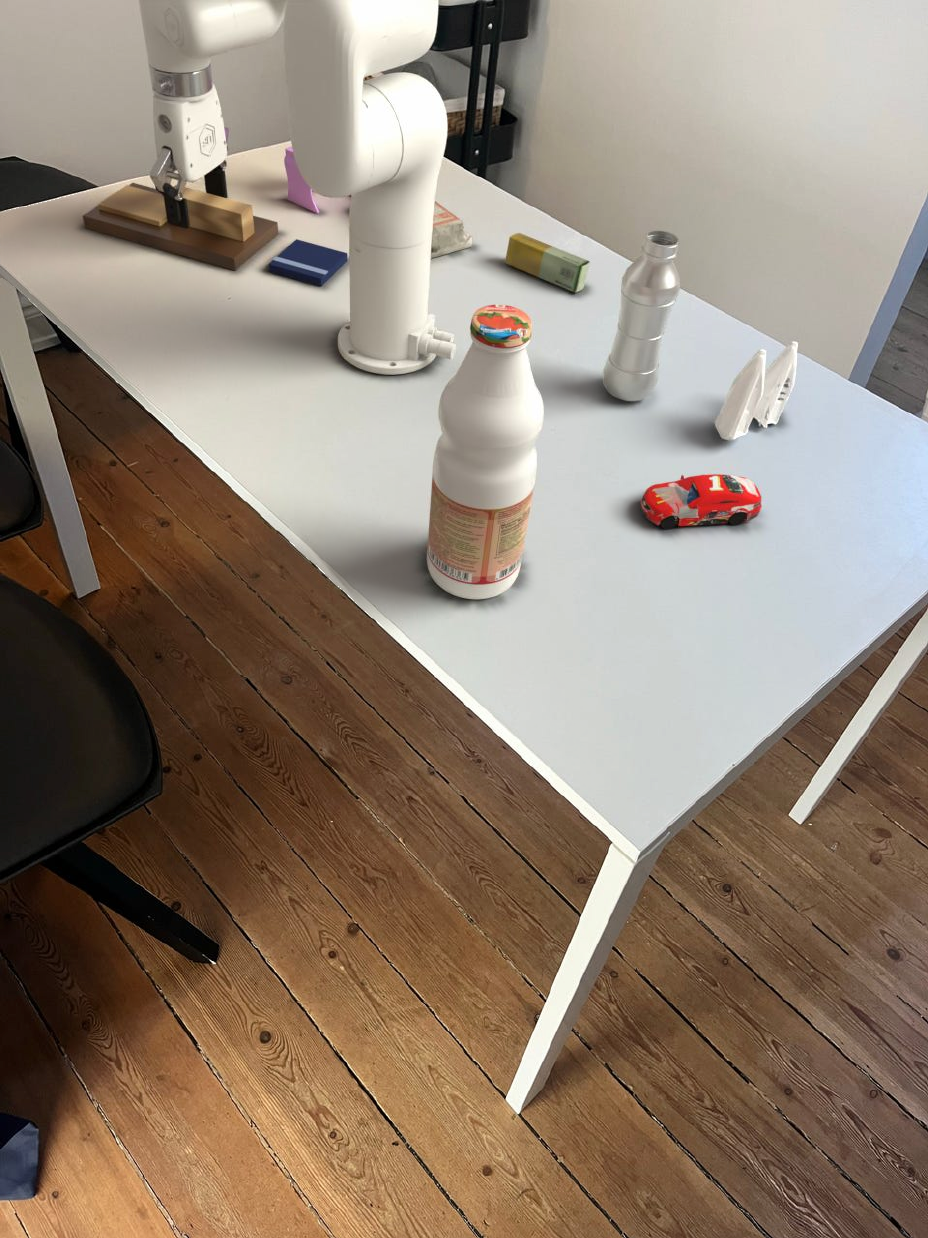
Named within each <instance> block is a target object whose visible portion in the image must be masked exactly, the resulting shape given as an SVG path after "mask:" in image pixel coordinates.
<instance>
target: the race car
mask: <svg viewBox="0 0 928 1238" xmlns="http://www.w3.org/2000/svg"><path fill="white" fill-rule="evenodd" d="M756 485H757V484H756V483H755V482H754V481H753V480H751V479H749V478H747V477H745V476H736V475H732V474H720V473H719V474H718V473H717V474H716V473H714V474H700V475H699V474H698V475H691V476H688V477H685V476H684V474H681V476H680V479H678V480H674V481H669V482H668V481H667V482H662V483H655V484H652V485H651V486H649V487H648V488H647V489H646V490H645V491H644V493H643V495H642V496H641V500H640V503H639V504H640V510H641V513H642V514H643V515H644V517H645V518H646V519H647V520H648V521H650V522H652V523H653V524H655V525H657V526H661V528H662V529H664V530H670V529H673V528H674V527H676V526H678V527H685V526H703V525H717V524H718V525H720V524H721V525H722V524H728V523H729V524H730V525H732V526H738V525H740V524H742V523H744V522H749V521H752V520H754V519H755V518H757V517H758V516H759V514H760V512H761V509H762V496H761V495H762V494H761V493H760V490H759V488H758V487H757V486H756Z"/></svg>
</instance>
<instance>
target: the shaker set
mask: <svg viewBox="0 0 928 1238" xmlns="http://www.w3.org/2000/svg"><path fill="white" fill-rule="evenodd" d="M798 346H799V343H798V342H797V341H790V342H789V343H788V344H787V345H786V346H785V348H784V349H782V351H781V352H780V353H779V354H778V356H777V357H776V358H775V359H774V360H773V362H772V363H771V364H770V365H769V367H768V368H767V369H766V360H767V359H766V358H767V351H766V350H765V349H763V348H761V349H758V350H757V351H756V353H754V355H753V356H751V358H750V359H749V361H748V362H747V363H746V364H745V366H744V367H743V368H742V369H741V370H740V371H739V373H738V374H737V375H736V377H735V378H734V379H733V381H732V383H731V385H730V387H729V390H728V392H727V395H726V397H725V399H724V401H723V404H722V406H721V409H720V411H719V414H718V416H717V417H716V418H715V419H714V426H715V429H716V430H717V432H718V433H719V436H720V438H721V439H723V440H726V441H735V440H736V439H737V438H741V437H743V436H746V435H747V433H748V432H749V427H750V425H751V423H752V421H753V419H755V420H756V421H757V422H758V426H759V427H762V426H763V428H768V425H769V424H773V425H777V424H778V422H779V421H780V420H779V419H780V417H781V415H783V410H784V408H785V406H786V404H787V402H788V400H789V398H790V395H791V393H792V391H793V388H794V385H795V380H796V372H797V361H798V360H797V359H798ZM761 425H762V426H761Z"/></svg>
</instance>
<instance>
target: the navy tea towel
mask: <svg viewBox="0 0 928 1238" xmlns="http://www.w3.org/2000/svg"><path fill="white" fill-rule="evenodd" d="M346 263H348V253H347V252H344V251H340V250H337V249H335V248H330V247H326V246H323V245H319V244H315V243H311V242H308V241H306V240H301V239H294V240H293V242H291V243H289V244H288V245H287V246H286V248H284V249H283V250H282V251H281V252H280V253H279V254H278V255H276V256H274V257H273V258H272V259H271V261H270V262H268V266H267V267H268V272H269V273H272V274H276V275H279V276H283V277H286V278H288V279H292V280H297V281H299V282H303V283H306V284H310V285H313V286H317V287H323V286H324V285H325V284H326V283H327V282H328V281H329V280H330V279H331V278H332V277H333V276H334V275H335V274H336V273H337V272H338V271H339V270H340V269H341V268H342V267H343V266H344V265H345V264H346Z"/></svg>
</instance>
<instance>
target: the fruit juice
mask: <svg viewBox="0 0 928 1238" xmlns="http://www.w3.org/2000/svg"><path fill="white" fill-rule="evenodd" d="M469 331H470V333H469V334H470V339H471V344H470V346H469V348H468V350H467V352H466V354H465V356H464V358H463V360H462V362H461V364H460V366H459V368H458V370H457V371H456V373H455V374H454V376H453V377H451V379H450V380H449V381H448V382H447V383H446V385H445V386H444V388H443V390H442V392H441V394H440V398H439V403H438V409H437V410H438V411H437V413H438V422H439V426H440V431H441V434H440V436H439V438H438V440H437V442H436V446H435V449H434V453H433V454H434V455H433V461H432V473H431V476H432V477H431V489H430V503H429V505H430V506H429V519H428V520H429V521H428V535H427V548H426V549H427V551H426V564H427V569H428V571H429V575H430V576H431V579H432V580H433V581H434V583H435V584H436V585H437V586H439V587H440V588H441V590H443V591H444V592H446V593H448V594H450V595H453V596H455V597H458V598H463V599H468V600H484V599H485V600H486V599H490V598H494V597H496V596H499V595H501V594H503V593H505V592H506V591H507V590H508V589H510V588H511V587H512V585H514V583H515V582H516V580H517V578H518V577H519V573H520V570H521V565H522V560H523V553H524V547H525V541H526V536H527V530H528V523H529V518H530V513H531V506H532V500H533V494H534V488H535V485H536V477H537V470H538V469H537V468H538V454H537V449H536V445H535V444H536V441H537V440H538V438H539V436H540V433H541V432H542V428H543V425H544V418H545V407H544V406H545V405H544V401H543V397H542V394H541V392H540V391H539V389H538V387H537V385H536V382H535V379H534V376H533V372H532V367H531V364H530V359H529V354H528V351H527V347H528V345H529V343H530V340H531V338H532V333H533V323H532V319H531V318H530V316H529V315H528V313H526V312H525V311H524V310H522V309H519V308H518V307H515V306H511V305H507V304H489V305H485V306H482V307H480V308H477V310H476V311H475V312H474V313H473V315H472V317H471V321H470V325H469Z"/></svg>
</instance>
